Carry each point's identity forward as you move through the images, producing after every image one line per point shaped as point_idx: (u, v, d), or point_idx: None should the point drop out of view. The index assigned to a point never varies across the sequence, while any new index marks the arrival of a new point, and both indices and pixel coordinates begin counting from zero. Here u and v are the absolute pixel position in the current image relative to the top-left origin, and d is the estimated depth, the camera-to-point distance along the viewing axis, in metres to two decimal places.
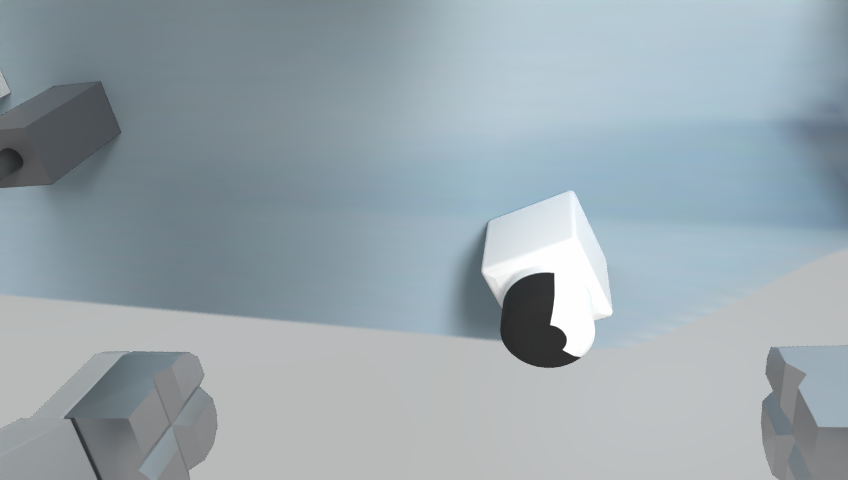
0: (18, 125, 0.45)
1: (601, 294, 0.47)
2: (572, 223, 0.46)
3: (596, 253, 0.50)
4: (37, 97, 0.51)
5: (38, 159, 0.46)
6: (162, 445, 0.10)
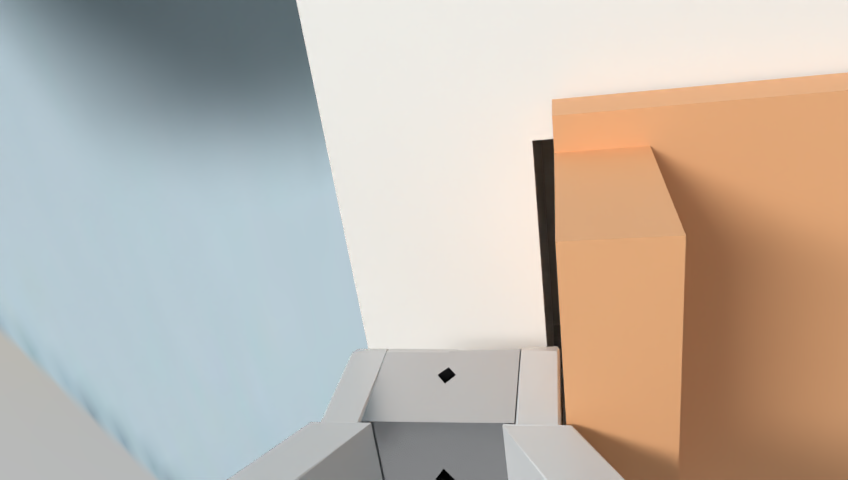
0: None
1: None
2: None
3: None
4: None
5: None
6: None
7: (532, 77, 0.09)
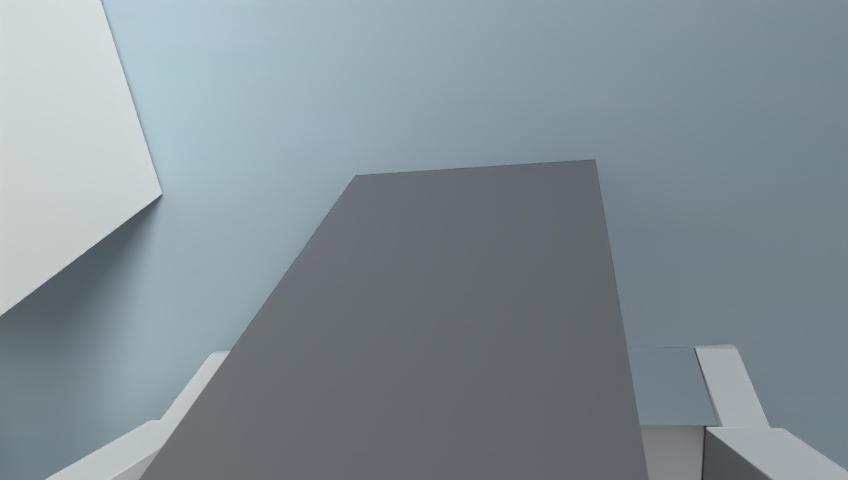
0: None
1: None
2: None
3: None
4: (342, 236, 0.10)
5: None
6: None
7: None
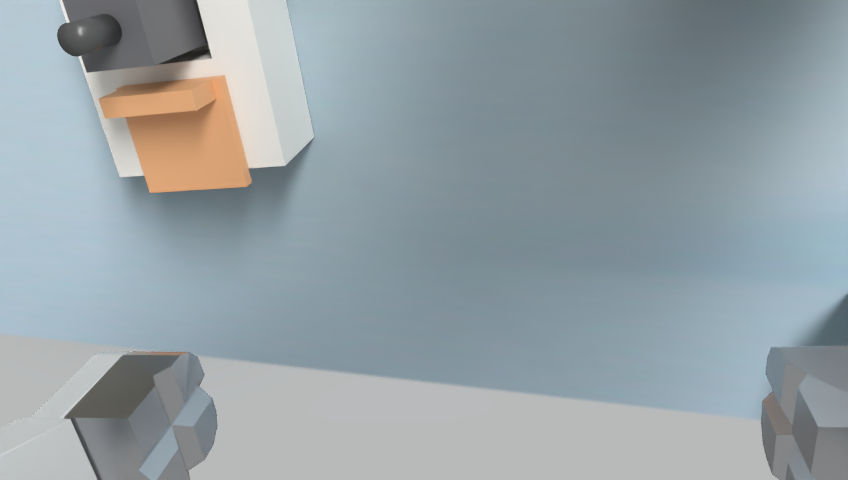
0: None
1: None
2: None
3: None
4: None
5: (142, 29, 0.36)
6: (162, 445, 0.10)
7: None
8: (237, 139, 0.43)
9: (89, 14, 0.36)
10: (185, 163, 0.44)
